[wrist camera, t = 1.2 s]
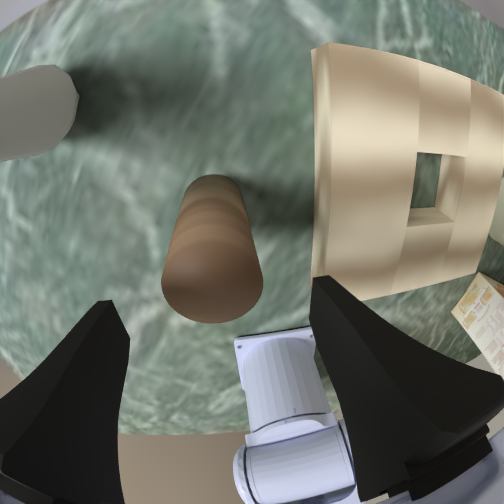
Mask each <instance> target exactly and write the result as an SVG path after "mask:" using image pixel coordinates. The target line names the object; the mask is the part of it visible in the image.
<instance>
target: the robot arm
mask: <svg viewBox="0 0 504 504" xmlns="http://www.w3.org/2000/svg"><path fill="white" fill-rule="evenodd" d="M309 321H310V324H311V327H307V328H301V329H295V330H289V331H282V332H276V333H269V334H262V335H255V336H247V337H239V338H236V339H235V340H234V346H235V351H236V357H237V362H238V368H239V373H240V378H241V384H242V389H243V390H245V393H246V401H247V408H248V416H249V423H250V430H251V434H247V435H245V437H246V445H242V446H241V447H240V448H239V449H238V451H237V453H236V454H235V457H234V462H233V471H234V479H235V483H236V487H237V490H238V492H239V494H240V496H241V498H242V499H243V501H244V502H245V503H246V504H365V502H366V501H368V500H370V499H373V498H376V497H378V496H381V495H383V494H386V493H388V495H389V499H386V500H384V501H382V502H379V503H376V504H504V427H503V428H502V429H501V430H500V431H498V432H497V433H496V434H495V435H494V436H492V437H491V438H490V439H489V440H488V439H487V437H486V434H487V433H489V428H488V426H487V423H488V422H489V421H490V420H491V419H492V418H494V417H495V416H496V415H497V414H498V413H499V412H500V411H501V410H502V409H503V408H504V380H503V378H502V376H501V375H498V374H494V373H491V372H488V371H484V370H481V369H477V368H474V367H471V366H469V365H466V364H464V363H461V362H459V361H456V360H454V359H451V358H449V357H447V356H445V355H443V354H441V353H439V352H437V351H435V350H433V349H431V348H429V347H427V346H425V345H423V344H421V343H420V342H418V341H416V340H415V339H413V338H411V337H410V336H408V335H406V334H405V333H403V332H402V331H400V330H399V329H397V328H396V327H394V326H393V325H391V324H390V323H388V322H387V321H386V320H384V319H383V318H381V317H380V316H379V315H378V314H376V313H375V312H374V311H372V310H371V309H370V308H368V307H367V306H366V305H365V304H363V303H362V302H361V301H360V300H359V299H357V298H356V297H355V296H354V295H353V294H351V293H350V292H349V291H348V290H347V289H345V288H344V287H343V286H342V285H341V284H340V283H338V282H337V281H336V280H335V279H334V278H332V277H331V276H330V275H325V276H319V277H313V280H312V293H311V304H310V315H309ZM239 345H241V346H239ZM316 345H317V348H318V350H319V352H320V355H321V357H322V360H323V362H324V365H325V367H326V369H327V372H328V374H329V377H330V379H331V382H332V384H333V386H334V389H335V391H336V394H337V397H338V400H339V403H340V407H341V410H342V414H343V418H344V419H342V420H339V421H338V423H337V420H336V417H335V414H334V412H331V409H330V406H329V403H328V400H327V397H326V394H325V391H324V388H323V385H322V382H321V379H320V376H319V373H318V370H317V367H316V364H315V361H314V353H315V347H316ZM129 349H130V337H129V335H128V333H127V331H126V329H125V327H124V325H123V323H122V321H121V319H120V317H119V315H118V312H117V310H116V308H115V306H114V304H113V302H112V300H105V301H98V302H97V303H95V304H94V305H93V306H92V307H91V308H90V310H89V311H88V312H87V313H86V314H85V315H84V316H83V317H82V318H81V319H80V321H79V322H78V323H77V324H76V325H75V326H74V327H73V329H72V330H71V331H70V332H69V333H68V334H67V335H66V337H65V338H64V339H63V340H62V341H61V342H60V343H59V344H58V345H57V347H56V348H55V349H54V350H53V351H52V352H51V353H50V354H49V355H48V357H47V358H46V359H45V360H44V361H43V362H42V363H41V364H40V365H39V366H38V367H37V368H36V369H35V370H34V371H33V372H32V373H31V374H30V375H29V376H27V377H26V378H25V379H24V380H23V381H22V382H21V383H19V384H18V385H17V386H16V387H15V388H13V389H12V390H11V391H10V392H9V393H8V394H6V395H5V396H3V397H2V398H1V399H0V504H125V502H124V498H123V493H122V487H121V482H120V473H119V464H118V439H117V438H118V437H117V436H118V416H119V409H120V403H121V397H122V392H123V387H124V382H125V377H126V371H127V366H128V360H129ZM338 425H339V426H338Z"/></svg>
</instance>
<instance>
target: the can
mask: <svg viewBox="0 0 504 504" xmlns="http://www.w3.org/2000/svg"><path fill="white" fill-rule="evenodd" d="M489 235H490V237H491V238H492V239H493V240H495V241H497V242H499V243H500V244H501V245H503V246H504V176H503V177H502V180H501V185H500V190H499V195H498V199H497V204H496V208H495V212H494V216H493V220H492V223H491V227H490V230H489Z"/></svg>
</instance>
